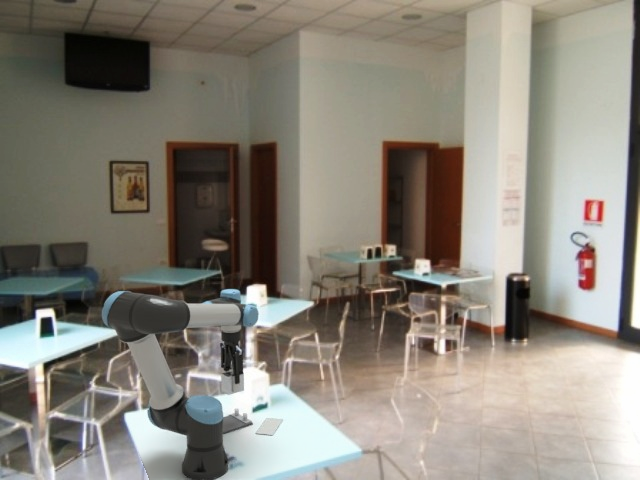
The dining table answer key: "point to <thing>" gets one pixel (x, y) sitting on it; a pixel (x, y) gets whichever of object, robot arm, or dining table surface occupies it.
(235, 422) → the grey knobbed plate
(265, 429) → the smartphone
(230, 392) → the block
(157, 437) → the dining table surface
